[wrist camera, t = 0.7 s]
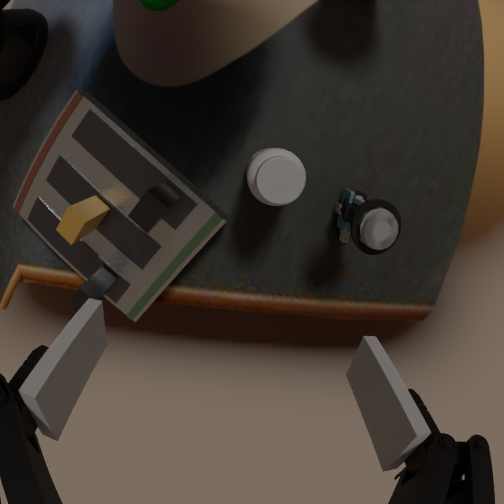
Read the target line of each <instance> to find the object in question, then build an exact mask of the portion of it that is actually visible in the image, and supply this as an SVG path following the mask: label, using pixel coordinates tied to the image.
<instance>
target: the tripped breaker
mask: <svg viewBox="0 0 504 504" xmlns="http://www.w3.org/2000/svg"><path fill="white" fill-rule="evenodd" d="M109 210H110V208H109V207H108V206H107V205H106V204H105V203H104V202H103V201H101V200H100V199H99V198H98V197H97V196H96V195H95V196H93V197H90V198H88V199H85V200H83V201H81V202H78V203H76V204H74V205H71V206H69V207H68V208H67V210H66V212H65V214H64V215H63V217H62V219H61V221H60V223H59V225H58V227H57V229H56V230H57V231H58V232H59V233H60V234H61V235H62V236H63V237H64V238H65V239H66V240H67V241H68V242H69V243H70V244H71V245H73V244H74V243H76V242H77V241H79V240H80V239H82V238H83V237H85V236H86V235H88V234H89V233H91V232H92V231H94V230H95V229H97V228H98V226H99V225H100V223H101V222H102V220H103V219H104V217H105V216H106V214H107V213H108V211H109Z"/></svg>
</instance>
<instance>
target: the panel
mask: <svg viewBox="0 0 504 504" xmlns="http://www.w3.org/2000/svg"><path fill="white" fill-rule="evenodd" d="M95 195H96V196H97V197H98V198H99V199H100V200H101V201H103V202H104V203H105V204H106V205H107V206H108V207H109V208H110V210H109V211H108V213H107V214H106V216H105V217H104V219H103V220H102V222H101V223H100V225H99V226H98V228H97V229H95V230H94V231H92V232H91V233H89V234H88V235H86V236H85V237H83V238H82V239H80V240H79V241H77V242H76V243H74V244H73V245H71V244H70V243H69V242H68V241H67V240H66V239H65V238H64V237H63V236H62V235H61V234H60V233H59V232H58V231H57V230H56V229H57V227H58V225H59V223H60V221H61V219H62V217H63V215H64V214H65V212H66V210H67V208H68V207H69V206H71V205H74V204H76V203H78V202H81V201H83V200H85V199H88V198H90V197H93V196H95ZM13 207H14V210H15V211H16V212H17V213H19V214H20V215H21V216H22V218H23V219H24V220H25V221H26V222H27V223H28V224H29V225H30V226H31V227H32V229H33V230H34V231H35V232H36V233H37V234H38V235H39V236H40V237H41V238H42V239H43V240H44V241H45V242H46V243H47V244H48V245H49V246H50V247H51V248H52V249H53V250H54V251H55V252H56V253H57V254H58V255H59V256H60V257H61V258H62V259H63V260H64V261H65V262H66V263H67V264H68V265H69V266H70V267H71V268H72V269H73V270H74V271H76V272H77V273H78V274H79V275H80V276H81V277H82V278H83V279H84V280H85V281H86V282H85V283H84V284H83V285H82V286H81V287H80V289H79V290H78V292H77V294H76V295H75V297H74V299H73V301H72V302H71V304H70V306H71V307H72V308H74V309H75V310H76V311H77V312H78V311H79V309H80V308H81V307H82V306H83V305H84V303H85V302H86V301H87V300H88V299H89V298H91V299H95V300H100V301H101V299H102V298H103V297H105V298H106V299H107V300H109V301H110V302H111V303H112V304H113V305H115V306H116V307H117V308H118V309H120V310H121V311H122V312H123V313H124V314H126V316H127V317H128V318H129V319H131V320H133V321H135V322H136V321H137V320H138V319H139V318H140V316H141V315H142V314H143V313H144V312H145V311H146V310H147V308H148V307H149V306H150V305H151V304H152V303H153V302H154V300H155V299H156V298H157V297H158V296H159V295H160V294H161V292H162V291H163V290H164V289H165V288H166V287H167V286H168V285H169V283H170V282H171V281H172V280H173V279H174V278H175V277H176V276H177V275H178V273H179V272H180V271H181V270H182V269H183V268H184V267H185V266H186V265H187V263H188V262H189V261H190V260H191V259H192V258H193V257H194V256H195V255H196V254H197V253H198V251H199V250H200V249H201V248H202V247H203V246H204V245H205V244H206V243H207V242H208V241H209V240H210V238H211V237H212V236H213V235H214V234H215V233H216V232H217V231H218V230H219V229H220V228H221V227H222V226H223V225H224V224H225V222H226V221H227V216H228V215H227V214H226V213H225V212H224V211H222V210H221V209H220V208H219V207H218V206H217V205H216V204H215V203H213V202H212V201H211V200H210V199H209V198H208V197H207V196H206V195H204V194H203V193H202V192H201V191H200V190H199V189H198V188H197V187H195V186H194V185H193V184H192V183H191V182H190V181H189V180H188V179H186V178H185V177H184V176H183V175H182V174H181V173H180V172H178V171H177V170H176V169H175V168H174V167H173V166H172V165H171V164H169V163H168V162H167V161H166V160H165V159H164V158H163V157H161V156H160V155H159V154H158V153H157V152H156V151H155V150H153V149H152V148H151V147H150V146H149V145H148V144H147V143H145V142H144V141H143V140H142V139H141V138H140V137H139V136H137V135H136V134H135V133H134V132H133V131H132V130H131V129H129V128H128V127H127V126H126V125H125V124H124V123H123V122H121V121H120V120H119V119H118V118H117V117H116V116H114V115H113V114H112V113H111V112H110V111H109V110H107V109H106V108H105V107H104V106H103V105H102V104H101V103H99V102H98V101H97V100H96V99H95V98H94V97H92V96H91V95H90V94H89V93H87V92H83V91H79V90H76V91H75V92H74V94H73V95H72V97H71V98H70V100H69V101H68V103H67V104H66V106H65V107H64V109H63V110H62V112H61V113H60V115H59V116H58V118H57V120H56V121H55V123H54V124H53V126H52V128H51V129H50V131H49V133H48V135H47V136H46V138H45V140H44V142H43V143H42V145H41V147H40V149H39V151H38V153H37V154H36V156H35V158H34V160H33V162H32V164H31V166H30V168H29V170H28V172H27V174H26V177H25V179H24V181H23V183H22V185H21V188H20V190H19V192H18V195H17V197H16V199H15V202H14V204H13Z"/></svg>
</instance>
